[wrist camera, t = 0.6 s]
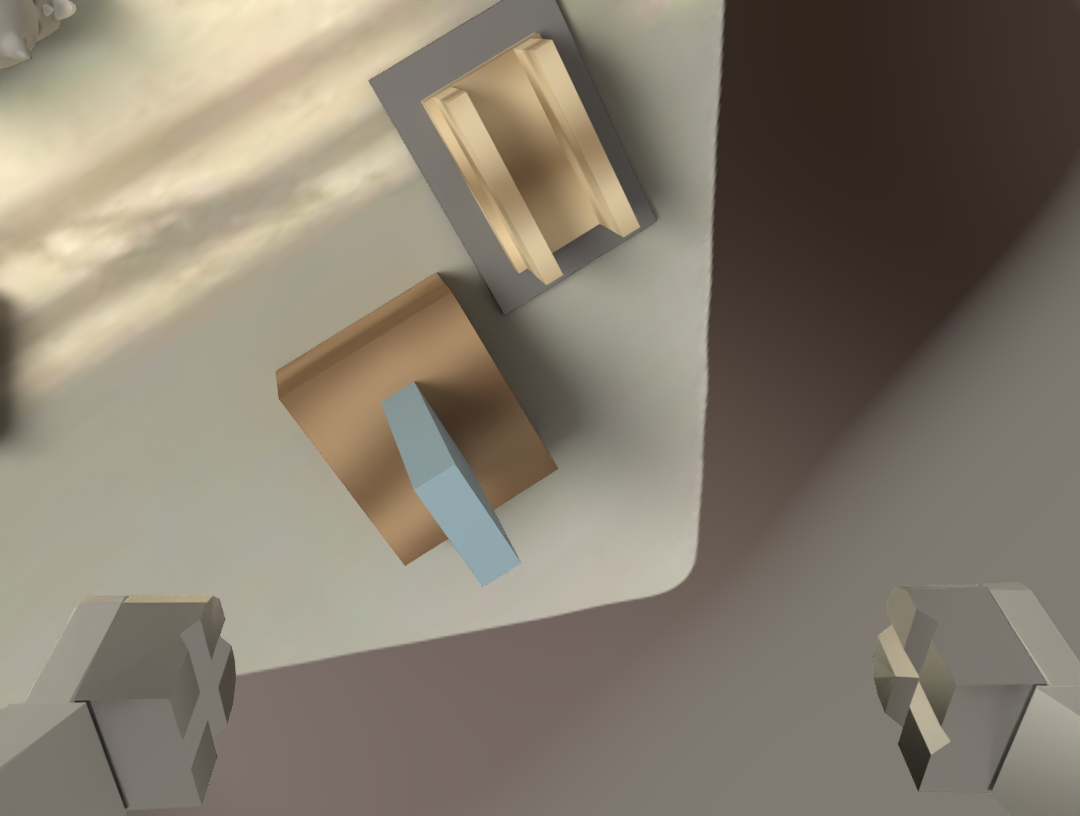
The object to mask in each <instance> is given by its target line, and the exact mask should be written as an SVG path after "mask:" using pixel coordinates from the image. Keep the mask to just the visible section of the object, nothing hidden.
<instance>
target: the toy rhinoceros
mask: <svg viewBox="0 0 1080 816" xmlns="http://www.w3.org/2000/svg"><path fill="white" fill-rule="evenodd" d="M76 10H77V8H76V5H75V4H74V3H72V2H71V1H69V0H0V69H3V68H8V67H12V66H15V65H17V64H19V63H21V62H22V61H26V60H30V59H31V58H32V52H31V50H32V49H33V48H34V47H35V45H36V43H37V41H39V40H43V39H44V38H46V37H48V36H49V35H51V34H52V33H53V32H54V31H56V30H58V29H59V28H60V26H61V20H62V19H65V18H68V17H70V16H72V15H73V14H74V13H75V12H76Z"/></svg>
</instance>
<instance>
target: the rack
mask: <svg viewBox="0 0 1080 816" xmlns="http://www.w3.org/2000/svg"><path fill="white" fill-rule="evenodd" d="M421 103H422V104H423V106H424V108H425V110H426V112H427V113H428V115H429V117H430V119H431V121H432V122H433V124H434V126H435V128H436V130H437V131H438V133H439V135H440V137H441V139H442V140H443V142H444V144H445V146H446V148H447V149H448V151H449V153H450V155H451V156H452V158H453V160H454V162H455V164H456V165H457V167H458V169H459V171H460V173H461V174H462V176H463V178H464V180H465V182H466V183H467V185H468V187H469V189H470V191H471V192H472V194H473V196H474V198H475V200H476V201H477V203H478V205H479V207H480V209H481V210H482V212H483V214H484V216H485V217H486V219H487V221H488V223H489V225H490V226H491V228H492V230H493V232H494V234H495V235H496V237H497V239H498V241H499V243H500V244H501V246H502V248H503V250H504V252H505V253H506V255H507V257H508V259H509V261H510V262H511V264H512V266H513V268H514V269H515V270H516V271H517V272H518V273H521V272H523V271H524V270H526V269H528V270H529V271H530V272H532V273H533V274H534V275H535V276H536V277H537V278H539V279H540V280H541V281H542V282H543V283H544V284H545V285H548V284H549V283H551V282H553V281H554V280H556V279H557V278H559V277H561V276H562V275H563V273H562V272H561V270H560V268H559V266H558V264H557V262H556V260H555V258H554V256H553V255H552V253H553V252H555V251H557V250H558V249H560V248H561V247H563V246H565V245H566V244H568V243H569V242H571V241H573V240H574V239H576V238H578V237H579V236H581V235H582V234H584V233H586V232H587V231H589V230H590V229H592V228H594V227H595V226H597V225H599V224H601V225H603V226H604V227H606V228H608V229H610V230H611V231H613V232H615V233H617V234H618V235H620V236H622V237H625V236H627V235H628V234H630V233H631V232H633V231H635V230H636V229H638V228H639V227H640V225H639V223H638V221H637V219H636V217H635V215H634V213H633V211H632V208H631V206H630V204H629V202H628V200H627V198H626V196H625V194H624V191H623V189H622V187H621V185H620V183H619V181H618V179H617V177H616V174H615V172H614V170H613V168H612V166H611V164H610V162H609V160H608V157H607V155H606V153H605V151H604V149H603V147H602V145H601V143H600V140H599V138H598V136H597V134H596V132H595V130H594V128H593V126H592V123H591V121H590V119H589V117H588V115H587V113H586V111H585V109H584V106H583V104H582V102H581V100H580V98H579V96H578V94H577V92H576V89H575V87H574V85H573V83H572V81H571V79H570V77H569V75H568V72H567V70H566V68H565V66H564V64H563V62H562V60H561V58H560V55H559V53H558V51H557V49H556V47H555V45H554V43H553V41H552V40H548V39H542V38H541V35H540V33H532V34H530V35H529V36H527V37H525V38H524V39H522V40H520V41H519V42H517V43H515V44H514V45H512V46H510V47H509V48H507V49H506V50H504V51H502V52H501V53H499V54H497V55H496V56H494V57H492V58H491V59H489V60H487V61H486V62H484V63H482V64H481V65H479V66H477V67H476V68H474V69H472V70H471V71H469V72H467V73H466V74H464V75H462V76H461V77H459V78H458V79H456V80H454V81H453V82H451V83H449V84H448V85H446V86H444V87H443V88H441V89H439V90H438V91H436V92H434V93H433V94H431V95H429V96H428V97H426V98H424V99H423V100H421Z"/></svg>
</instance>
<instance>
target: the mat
mask: <svg viewBox="0 0 1080 816" xmlns="http://www.w3.org/2000/svg"><path fill="white" fill-rule="evenodd" d="M532 33H540V35H541V38H542V39H548V40H552V41H553V43H554V45H555V47H556V49H557V51H558V53H559V55H560V58H561V60H562V62H563V64H564V66H565V68H566V70H567V72H568V75H569V77H570V79H571V81H572V83H573V85H574V87H575V89H576V92H577V94H578V96H579V98H580V100H581V102H582V104H583V106H584V109H585V111H586V113H587V115H588V117H589V119H590V121H591V123H592V126H593V128H594V130H595V132H596V134H597V136H598V138H599V140H600V143H601V145H602V147H603V149H604V151H605V153H606V155H607V157H608V160H609V162H610V164H611V166H612V168H613V170H614V172H615V174H616V177H617V179H618V181H619V183H620V185H621V187H622V189H623V191H624V194H625V196H626V198H627V200H628V202H629V204H630V206H631V208H632V211H633V213H634V215H635V217H636V219H637V221H638V223H639V225H640V227H639V228H638V229H636V230H635V231H633V232H631V233H630V234H628V235H627V236H625V237H622V236H620V235H618V234H617V233H615V232H613V231H611V230H610V229H608V228H606V227H604V226H603V225H601V224H599V225H597V226H595V227H594V228H592V229H590V230H589V231H587V232H586V233H584V234H582V235H581V236H579V237H578V238H576V239H574V240H573V241H571V242H569V243H568V244H566V245H565V246H563V247H561V248H560V249H558V250H557V251H555V252H553V253H552V255H553V256H554V258H555V260H556V262H557V264H558V266H559V268H560V270H561V272H562V273H563V275H562V276H561V277H559V278H557V279H556V280H554V281H553V282H551V283H549V284H548V285H545V284H544V283H543V282H542V281H541V280H540V279H539V278H537V277H536V276H535V275H534V274H533V273H532V272H530V271H529V270H528V269H526V270H524V271H523V272H521V273H518V272H517V271H516V270H515V269H514V268H513V266H512V264H511V262H510V261H509V259H508V257H507V255H506V253H505V252H504V250H503V248H502V246H501V244H500V243H499V241H498V239H497V237H496V235H495V234H494V232H493V230H492V228H491V226H490V225H489V223H488V221H487V219H486V217H485V216H484V214H483V212H482V210H481V209H480V207H479V205H478V203H477V201H476V200H475V198H474V196H473V194H472V192H471V191H470V189H469V187H468V185H467V183H466V182H465V180H464V178H463V176H462V174H461V173H460V171H459V169H458V167H457V165H456V164H455V162H454V160H453V158H452V156H451V155H450V153H449V151H448V149H447V148H446V146H445V144H444V142H443V140H442V139H441V137H440V135H439V133H438V131H437V130H436V128H435V126H434V124H433V122H432V121H431V119H430V117H429V115H428V113H427V112H426V110H425V108H424V106H423V104H422V103H421V100H423V99H424V98H426V97H428V96H429V95H431V94H433V93H434V92H436V91H438V90H439V89H441V88H443V87H444V86H446V85H448V84H449V83H451V82H453V81H454V80H456V79H458V78H459V77H461V76H462V75H464V74H466V73H467V72H469V71H471V70H472V69H474V68H476V67H477V66H479V65H481V64H482V63H484V62H486V61H487V60H489V59H491V58H492V57H494V56H496V55H497V54H499V53H501V52H502V51H504V50H506V49H507V48H509V47H510V46H512V45H514V44H515V43H517V42H519V41H520V40H522V39H524V38H525V37H527V36H529V35H530V34H532ZM369 83H370V84H371V86H372V88H373V89H374V91H375V93H376V95H377V96H378V98H379V100H380V102H381V103H382V105H383V107H384V108H385V110H386V112H387V114H388V115H389V117H390V119H391V121H392V122H393V124H394V126H395V127H396V129H397V131H398V133H399V134H400V136H401V138H402V140H403V141H404V143H405V145H406V146H407V148H408V150H409V152H410V153H411V155H412V157H413V159H414V160H415V162H416V164H417V165H418V167H419V169H420V171H421V172H422V174H423V176H424V178H425V179H426V181H427V183H428V184H429V186H430V188H431V190H432V191H433V193H434V195H435V197H436V198H437V200H438V202H439V203H440V205H441V207H442V209H443V210H444V212H445V214H446V216H447V217H448V219H449V221H450V222H451V224H452V226H453V228H454V229H455V231H456V233H457V235H458V236H459V238H460V240H461V241H462V243H463V245H464V247H465V248H466V250H467V252H468V254H469V255H470V257H471V259H472V260H473V262H474V264H475V266H476V267H477V269H478V271H479V273H480V274H481V276H482V278H483V279H484V281H485V283H486V285H487V286H488V288H489V290H490V291H491V293H492V295H493V297H494V298H495V300H496V302H497V304H498V305H499V307H500V309H501V310H502V312H503V314H504V315H506V314H508V313H510V312H511V311H513V310H514V309H516V308H518V307H519V306H521V305H523V304H524V303H526V302H527V301H529V300H531V299H532V298H534V297H535V296H537V295H539V294H540V293H542V292H543V291H545V290H547V289H548V288H550V287H551V286H553V285H555V284H556V283H558V282H560V281H561V280H563V279H564V278H566V277H568V276H569V275H571V274H572V273H574V272H576V271H577V270H579V269H580V268H582V267H584V266H585V265H587V264H588V263H590V262H592V261H593V260H595V259H597V258H598V257H600V256H601V255H603V254H605V253H606V252H608V251H609V250H611V249H613V248H614V247H616V246H617V245H619V244H621V243H622V242H624V241H625V240H627V239H629V238H630V237H632V236H634V235H635V234H637V233H638V232H640V231H642V230H643V229H645V228H646V227H648V226H650V225H651V224H653V223H654V222H656V221H657V220H656V218H655V216H654V214H653V211H652V209H651V207H650V205H649V203H648V201H647V198H646V196H645V194H644V192H643V190H642V187H641V185H640V183H639V181H638V179H637V177H636V174H635V172H634V170H633V168H632V166H631V164H630V161H629V159H628V157H627V155H626V153H625V150H624V148H623V146H622V144H621V142H620V140H619V137H618V135H617V133H616V131H615V129H614V127H613V124H612V122H611V120H610V118H609V116H608V113H607V111H606V109H605V107H604V105H603V103H602V100H601V98H600V96H599V94H598V92H597V89H596V87H595V85H594V83H593V81H592V79H591V76H590V74H589V72H588V70H587V68H586V66H585V63H584V61H583V59H582V57H581V55H580V52H579V50H578V48H577V46H576V44H575V42H574V39H573V37H572V35H571V33H570V31H569V29H568V26H567V24H566V22H565V20H564V18H563V15H562V13H561V11H560V9H559V7H558V5H557V2H556V0H502V1H500V2H498V3H497V4H495V5H493V6H492V7H490V8H488V9H487V10H485V11H483V12H482V13H480V14H478V15H477V16H475V17H473V18H472V19H470V20H468V21H467V22H465V23H463V24H462V25H460V26H458V27H457V28H455V29H453V30H452V31H450V32H448V33H447V34H445V35H443V36H442V37H440V38H438V39H437V40H435V41H433V42H432V43H430V44H428V45H427V46H425V47H423V48H422V49H420V50H418V51H417V52H415V53H413V54H412V55H410V56H408V57H407V58H405V59H403V60H402V61H400V62H398V63H397V64H395V65H393V66H392V67H390V68H388V69H387V70H385V71H383V72H382V73H380V74H378V75H377V76H375V77H374V78H372V79H370V80H369Z"/></svg>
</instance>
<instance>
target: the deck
mask: <svg viewBox="0 0 1080 816" xmlns="http://www.w3.org/2000/svg"><path fill="white" fill-rule="evenodd" d="M276 379H277V387H278V396H279V400H280V401H281V402H282V404H283V405H284V406H285V408H286V409H287V410H288V412H289V413H290V414H291V416H292V417H293V418H294V420H295V421H296V422H297V424H298V425H299V426H300V427H301V429H302V430H303V431H304V433H305V434H306V435H307V437H308V438H309V439H310V441H311V442H312V443H313V445H314V446H315V447H316V449H317V450H318V451H319V453H320V454H321V455H322V457H323V458H324V459H325V461H326V462H327V463H328V465H329V466H330V467H331V468H332V470H333V471H334V472H335V474H336V475H337V476H338V478H339V479H340V480H341V482H342V483H343V484H344V486H345V487H346V488H347V490H348V491H349V492H350V494H351V495H352V496H353V498H354V499H355V500H356V502H357V503H358V504H359V506H360V507H361V508H362V510H363V511H364V512H365V513H366V515H367V516H368V517H369V519H370V520H371V521H372V523H373V524H374V525H375V527H376V528H377V529H378V531H379V532H380V533H381V535H382V536H383V537H384V539H385V540H386V541H387V543H388V544H389V545H390V547H391V548H392V549H393V551H394V552H395V553H396V555H397V556H398V557H399V558H400V560H401V561H402V562H403V564H404V565H405V566H406V565H407V564H409V563H410V562H412V561H414V560H415V559H417V558H418V557H420V556H421V555H423V554H425V553H426V552H428V551H429V550H431V549H432V548H434V547H436V546H437V545H439V544H440V543H442V542H443V541H445V540H447V539H448V537H447V536H446V534H445V533H444V531H443V530H442V529H441V527H440V526H439V524H438V523H437V522H436V520H435V519H434V517H433V516H432V515H431V513H430V512H429V510H428V509H427V508H426V506H425V505H424V503H423V502H422V501H421V499H420V498H419V496H418V495H417V493H416V492H415V491H414V489H413V486H412V483H411V481H410V478H409V476H408V473H407V470H406V468H405V465H404V462H403V460H402V457H401V455H400V452H399V449H398V447H397V444H396V441H395V439H394V436H393V433H392V431H391V428H390V426H389V423H388V420H387V418H386V415H385V412H384V410H383V407H382V405H381V402H382V401H383V400H385V399H387V398H388V397H390V396H392V395H393V394H395V393H396V392H398V391H400V390H401V389H403V388H404V387H406V386H408V385H409V384H411V383H412V382H415V383H416V385H417V386H418V388H419V390H420V391H421V393H422V394H423V396H424V397H425V399H426V400H427V402H428V403H429V405H430V406H431V408H432V409H433V411H434V412H435V414H436V415H437V417H438V418H439V420H440V421H441V423H442V424H443V426H444V427H445V429H446V430H447V432H448V433H449V435H450V436H451V438H452V439H453V441H454V442H455V444H456V445H457V447H458V449H459V450H460V452H461V453H462V455H463V456H464V458H465V459H466V461H467V462H468V464H469V465H470V467H471V468H472V470H473V472H474V474H475V476H476V478H477V480H478V482H479V484H480V485H481V487H482V489H483V491H484V493H485V495H486V497H487V499H488V501H489V503H490V504H491V506H492V508H493V510H494V509H495V508H497V507H499V506H500V505H502V504H503V503H505V502H507V501H508V500H510V499H511V498H513V497H514V496H516V495H518V494H519V493H521V492H522V491H524V490H525V489H527V488H529V487H530V486H532V485H533V484H535V483H536V482H538V481H540V480H541V479H543V478H544V477H546V476H548V475H549V474H551V473H552V472H554V471H555V470H557V469H558V467H557V466H556V464H555V462H554V461H553V459H552V457H551V456H550V454H549V452H548V451H547V449H546V447H545V446H544V444H543V442H542V441H541V439H540V438H539V436H538V434H537V433H536V431H535V429H534V428H533V426H532V424H531V423H530V421H529V419H528V418H527V416H526V414H525V413H524V411H523V409H522V408H521V406H520V404H519V403H518V401H517V399H516V398H515V396H514V394H513V393H512V391H511V389H510V388H509V386H508V384H507V383H506V381H505V379H504V378H503V376H502V374H501V373H500V371H499V369H498V368H497V366H496V365H495V363H494V361H493V360H492V358H491V356H490V355H489V353H488V351H487V350H486V348H485V346H484V345H483V343H482V341H481V340H480V338H479V336H478V335H477V333H476V331H475V330H474V328H473V326H472V325H471V323H470V321H469V320H468V318H467V316H466V315H465V313H464V311H463V310H462V308H461V306H460V305H459V303H458V301H457V300H456V298H455V296H454V295H453V293H452V292H451V290H450V289H449V288H448V287H447V285H446V284H445V283H444V281H443V280H442V279H441V278H440V276H439V275H438V274H437V273H435V274H433V275H432V276H430V277H428V278H427V279H425V280H424V281H422V282H420V283H419V284H417V285H415V286H414V287H412V288H411V289H409V290H407V291H406V292H404V293H402V294H401V295H399V296H398V297H396V298H394V299H393V300H391V301H389V302H388V303H386V304H385V305H383V306H381V307H380V308H378V309H376V310H375V311H373V312H372V313H370V314H368V315H367V316H365V317H363V318H362V319H360V320H359V321H357V322H355V323H354V324H352V325H350V326H349V327H347V328H346V329H344V330H342V331H341V332H339V333H338V334H336V335H334V336H333V337H331V338H329V339H328V340H326V341H325V342H323V343H321V344H320V345H318V346H316V347H315V348H313V349H312V350H310V351H308V352H307V353H305V354H303V355H302V356H300V357H299V358H297V359H295V360H294V361H292V362H290V363H289V364H287V365H286V366H284V367H282V368H281V369H279V370H277V371H276Z"/></svg>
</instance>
